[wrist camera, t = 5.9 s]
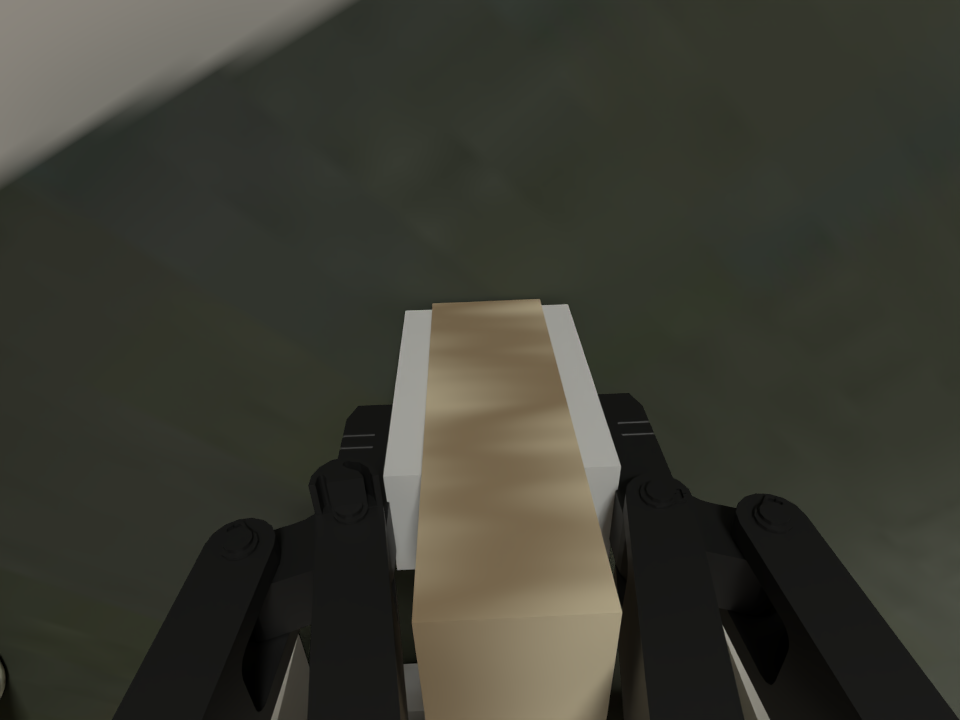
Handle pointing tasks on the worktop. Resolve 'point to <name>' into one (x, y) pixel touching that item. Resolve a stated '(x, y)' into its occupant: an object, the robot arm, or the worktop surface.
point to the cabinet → (295, 688)
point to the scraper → (506, 532)
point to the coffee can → (2, 679)
